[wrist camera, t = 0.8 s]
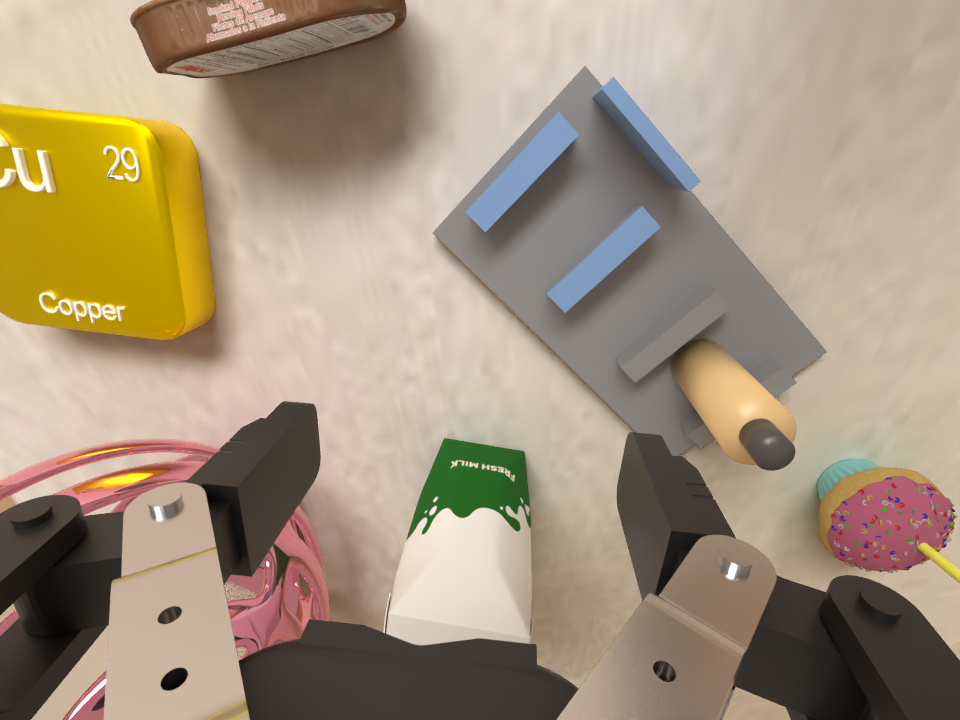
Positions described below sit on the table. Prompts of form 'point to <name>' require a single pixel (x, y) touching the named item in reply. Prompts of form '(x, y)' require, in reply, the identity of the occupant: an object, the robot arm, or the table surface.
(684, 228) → the slotted grey board
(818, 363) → the table surface
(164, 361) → the table surface
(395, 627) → the milk carton
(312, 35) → the tin
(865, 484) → the cupcake
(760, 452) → the yellow bottle
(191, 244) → the element tile
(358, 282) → the table surface
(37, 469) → the spiral basket
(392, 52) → the table surface
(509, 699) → the robot arm
